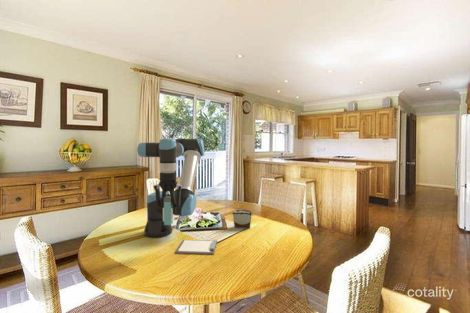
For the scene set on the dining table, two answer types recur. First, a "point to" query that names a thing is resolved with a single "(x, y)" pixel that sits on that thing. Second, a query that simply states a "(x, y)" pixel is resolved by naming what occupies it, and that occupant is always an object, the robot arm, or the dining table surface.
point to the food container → (242, 218)
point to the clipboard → (197, 247)
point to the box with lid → (167, 210)
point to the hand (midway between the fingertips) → (168, 220)
